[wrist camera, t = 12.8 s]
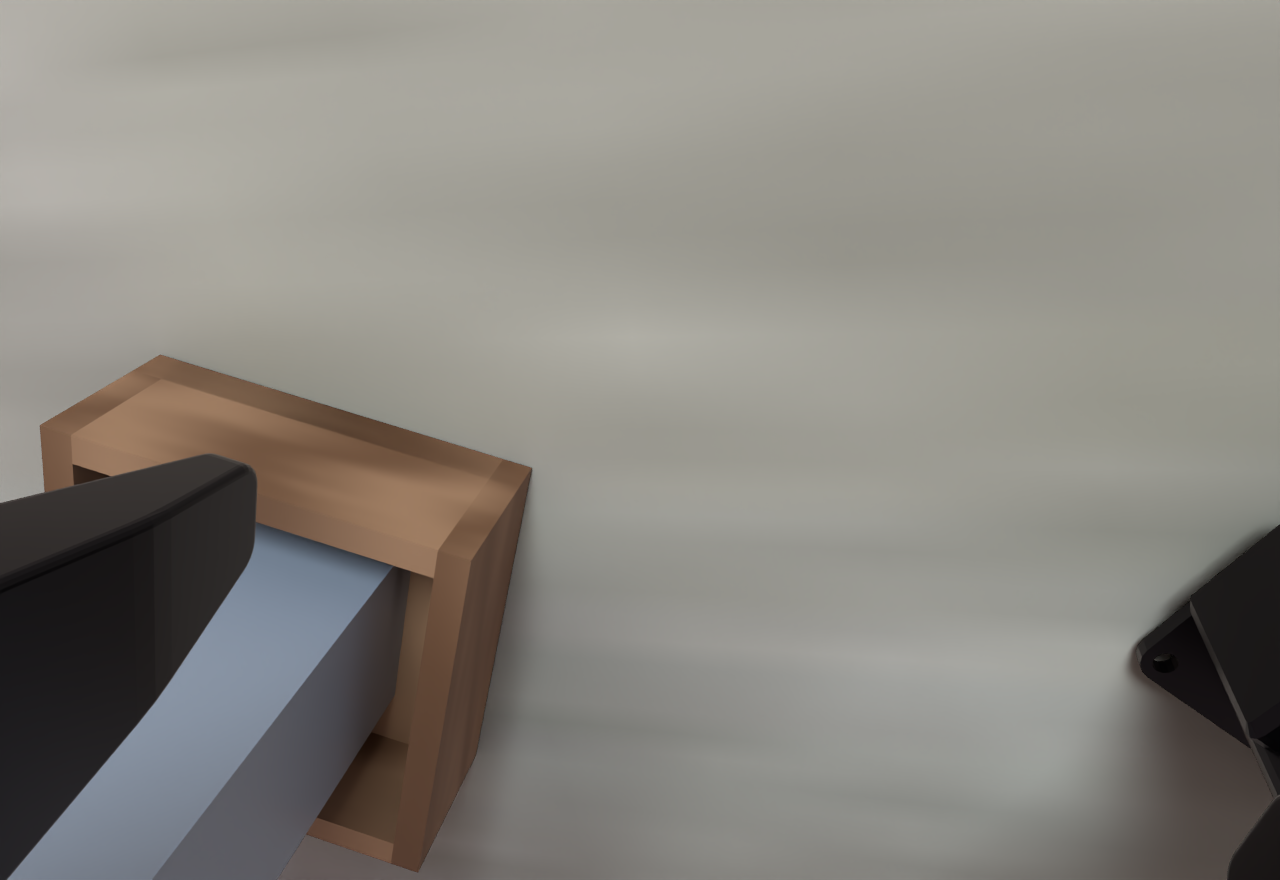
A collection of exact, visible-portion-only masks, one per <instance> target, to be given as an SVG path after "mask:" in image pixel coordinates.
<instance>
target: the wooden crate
mask: <svg viewBox="0 0 1280 880" xmlns="http://www.w3.org/2000/svg"><path fill="white" fill-rule="evenodd" d="M40 434H41V447H42V461H43V475H44V489H45V492H48V491H53V490H57V489H61V488H65V487H69V486H73V485H77V484H82V483H86V482H90V481H94V480H98V479H102V478H106V477H110V476H115V475H119V474H123V473H127V472H131V471H135V470H139V469H144V468H148V467H152V466H156V465H160V464H164V463H168V462H173V461H177V460H181V459H185V458H189V457H193V456H197V455H202V454H207V453H213V454H217V455H221V456H224V457H227V458H230V459H234V460H237V461H240V462H243V463H246V464H249V465H250V466H251V467H252V468H253V469H254V470H255V472H256V476H257V506H256V522H258V523H261V524H264V525H267V526H270V527H273V528H276V529H280V530H283V531H286V532H289V533H292V534H295V535H299V536H302V537H305V538H308V539H311V540H314V541H317V542H321V543H324V544H327V545H330V546H333V547H336V548H340V549H343V550H346V551H349V552H352V553H355V554H359V555H362V556H365V557H368V558H371V559H374V560H377V561H381V562H384V563H387V564H390V565H393V566H396V567H400V568H403V569H406V570H409V571H411V574H410V582H409V589H408V597H407V605H406V612H405V620H404V628H403V635H402V643H401V651H400V659H399V666H398V674H397V682H396V689H395V696H394V697H393V699H392V700H391V702H390V703H389V705H388V706H387V708H386V710H385V711H384V713H383V714H382V716H381V717H380V719H379V721H378V722H377V724H376V725H375V727H374V728H373V730H372V732H371V733H370V735H369V736H368V738H367V739H366V741H365V742H364V744H363V746H362V747H361V749H360V750H359V752H358V753H357V755H356V757H355V758H354V760H353V761H352V763H351V764H350V766H349V768H348V769H347V771H346V772H345V774H344V775H343V777H342V779H341V780H340V782H339V783H338V785H337V786H336V788H335V789H334V791H333V793H332V794H331V796H330V797H329V799H328V800H327V802H326V804H325V805H324V807H323V808H322V810H321V811H320V813H319V815H318V816H317V818H316V819H315V821H314V822H313V824H312V825H311V827H310V829H309V830H308V832H307V833H306V834H307V835H310V836H313V837H315V838H318V839H321V840H324V841H327V842H330V843H333V844H336V845H339V846H342V847H345V848H348V849H350V850H353V851H356V852H359V853H362V854H365V855H368V856H371V857H374V858H377V859H380V860H383V861H385V862H388V863H391V864H394V865H397V866H400V867H403V868H406V869H409V870H412V871H415V872H419V870H420V868H421V865H422V863H423V861H424V859H425V857H426V855H427V853H428V851H429V849H430V847H431V845H432V843H433V841H434V839H435V837H436V835H437V833H438V831H439V829H440V827H441V825H442V823H443V821H444V819H445V817H446V815H447V813H448V811H449V809H450V807H451V805H452V803H453V801H454V799H455V797H456V795H457V793H458V791H459V788H460V786H461V784H462V782H463V780H464V778H465V776H466V774H467V772H468V770H469V768H470V766H471V764H472V762H473V760H474V758H475V756H476V752H477V746H478V741H479V736H480V731H481V726H482V721H483V716H484V711H485V705H486V700H487V695H488V690H489V685H490V680H491V675H492V670H493V664H494V659H495V654H496V649H497V644H498V639H499V634H500V629H501V623H502V618H503V613H504V608H505V603H506V598H507V593H508V588H509V582H510V577H511V572H512V567H513V562H514V557H515V552H516V547H517V541H518V536H519V531H520V526H521V521H522V516H523V511H524V506H525V500H526V495H527V490H528V485H529V480H530V475H531V470H532V468H530V467H527V466H524V465H520V464H517V463H514V462H511V461H507V460H504V459H501V458H497V457H494V456H491V455H488V454H484V453H481V452H478V451H474V450H471V449H468V448H465V447H461V446H458V445H455V444H451V443H448V442H445V441H442V440H438V439H435V438H432V437H429V436H425V435H422V434H419V433H415V432H412V431H409V430H406V429H402V428H399V427H396V426H392V425H389V424H386V423H383V422H379V421H376V420H373V419H369V418H366V417H363V416H360V415H356V414H353V413H350V412H346V411H343V410H340V409H337V408H333V407H330V406H327V405H323V404H320V403H317V402H314V401H310V400H307V399H304V398H300V397H297V396H294V395H291V394H287V393H284V392H281V391H278V390H274V389H271V388H268V387H264V386H261V385H258V384H255V383H251V382H248V381H245V380H241V379H238V378H235V377H232V376H228V375H225V374H222V373H218V372H215V371H212V370H209V369H205V368H202V367H199V366H195V365H192V364H189V363H186V362H182V361H179V360H176V359H172V358H169V357H166V356H163V355H159V356H157V357H155V358H154V359H152V360H150V361H149V362H147V363H145V364H144V365H142V366H140V367H138V368H137V369H135V370H133V371H132V372H130V373H128V374H126V375H125V376H123V377H121V378H120V379H118V380H116V381H115V382H113V383H111V384H109V385H108V386H106V387H104V388H103V389H101V390H99V391H97V392H96V393H94V394H92V395H91V396H89V397H87V398H86V399H84V400H82V401H80V402H79V403H77V404H75V405H74V406H72V407H70V408H69V409H67V410H65V411H63V412H62V413H60V414H58V415H57V416H55V417H53V418H51V419H50V420H48V421H46V422H45V423H43V424H41V425H40Z"/></svg>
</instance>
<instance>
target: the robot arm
mask: <svg viewBox="0 0 1280 880" xmlns="http://www.w3.org/2000/svg"><path fill="white" fill-rule="evenodd" d="M256 506H257V476H256V472H255V470H254V469H253V468H252V467H251V466H250V465H249V464H246V463H243V462H240V461H237V460H234V459H230V458H227V457H224V456H221V455H217V454H213V453H207V454H202V455H197V456H193V457H189V458H185V459H181V460H177V461H173V462H168V463H164V464H160V465H156V466H152V467H148V468H144V469H139V470H135V471H131V472H127V473H123V474H119V475H115V476H110V477H106V478H102V479H98V480H94V481H90V482H86V483H82V484H77V485H73V486H69V487H65V488H61V489H57V490H53V491H48V492H44V493H40V494H36V495H32V496H28V497H24V498H19V499H15V500H11V501H7V502H3V503H0V880H7V879H8V878H9V877H10V876H11V875H12V873H13V872H14V871H15V870H16V869H17V867H18V866H19V865H20V864H21V863H22V861H23V860H24V859H25V858H26V857H27V855H28V854H29V853H30V852H31V851H32V850H33V848H34V847H35V846H36V845H37V844H38V842H39V841H40V840H41V839H42V838H43V836H44V835H45V834H46V833H47V832H48V830H49V829H50V828H51V827H52V826H53V825H54V823H55V822H56V821H57V820H58V819H59V817H60V816H61V815H62V814H63V813H64V811H65V810H66V809H67V808H68V807H69V805H70V804H71V803H72V802H73V801H74V800H75V798H76V797H77V796H78V795H79V794H80V792H81V791H82V790H83V789H84V788H85V786H86V785H87V784H88V783H89V782H90V780H91V779H92V778H93V777H94V776H95V775H96V773H97V772H98V771H99V770H100V769H101V767H102V766H103V765H104V764H105V763H106V761H107V760H108V759H109V758H110V757H111V755H112V754H113V753H114V752H115V751H116V749H117V748H118V747H119V746H120V745H121V744H122V742H123V741H124V740H125V739H126V738H127V736H128V735H129V734H130V733H131V732H132V730H133V729H134V728H135V727H136V726H137V724H138V723H139V722H140V721H141V720H142V718H143V717H144V716H145V714H146V713H147V712H148V711H149V709H150V708H151V707H152V706H153V704H154V703H155V702H156V701H157V699H158V698H159V696H160V695H161V694H162V692H163V691H164V689H165V688H166V687H167V685H168V684H169V682H170V681H171V679H172V678H173V676H174V675H175V673H176V672H177V670H178V669H179V667H180V666H181V664H182V663H183V661H184V660H185V658H186V657H187V655H188V654H189V652H190V651H191V649H192V648H193V646H194V645H195V643H196V642H197V640H198V639H199V637H200V636H201V634H202V633H203V631H204V630H205V628H206V627H207V625H208V624H209V622H210V621H211V619H212V618H213V616H214V615H215V613H216V612H217V610H218V609H219V607H220V606H221V604H222V603H223V601H224V600H225V598H226V597H227V595H228V594H229V592H230V591H231V589H232V588H233V586H234V585H235V583H236V582H237V580H238V579H239V577H240V576H241V574H242V573H243V571H244V570H245V568H246V566H247V565H248V562H249V560H250V558H251V555H252V552H253V548H254V544H255V529H256ZM1161 654H1171V655H1173V656H1172V657H1171V658H1170V659H1168V660H1166V661H1156V660H1154V659H1155V657H1156V656H1159V655H1161ZM1136 655H1137V658H1138V661H1139V664H1140V667H1141V670H1142V672H1143V673H1144V674H1145V675H1146V676H1147V677H1148V678H1149V679H1151V680H1152V681H1154V682H1155V683H1157V684H1158V685H1159V686H1161V687H1162V688H1164V689H1165V690H1167V691H1168V692H1170V693H1171V694H1172V695H1174V696H1175V697H1177V698H1178V699H1180V700H1181V701H1183V702H1184V703H1186V704H1187V705H1188V706H1190V707H1191V708H1193V709H1194V710H1196V711H1197V712H1199V713H1200V714H1201V715H1203V716H1204V717H1206V718H1207V719H1209V720H1210V721H1212V722H1213V723H1214V724H1216V725H1217V726H1219V727H1220V728H1222V729H1223V730H1225V731H1226V732H1227V733H1229V734H1230V735H1232V736H1233V737H1235V738H1236V739H1238V740H1239V741H1240V742H1242V743H1243V744H1245V745H1246V746H1248V747H1249V748H1251V749H1252V751H1253V754H1254V756H1255V758H1256V760H1257V763H1258V765H1259V767H1260V769H1261V771H1262V774H1263V776H1264V778H1265V780H1266V783H1267V785H1268V787H1269V789H1270V791H1271V794H1272V796H1273V798H1274V800H1273V801H1272V802H1271V804H1270V805H1269V806H1268V808H1267V809H1266V810H1265V812H1264V813H1263V814H1262V816H1261V817H1260V819H1259V820H1258V821H1257V823H1256V824H1255V825H1254V827H1253V828H1252V829H1251V831H1250V832H1249V833H1248V835H1247V836H1246V837H1245V839H1244V840H1243V842H1242V843H1241V844H1240V846H1239V847H1238V848H1237V850H1236V851H1235V853H1234V855H1233V856H1232V859H1231V861H1230V864H1229V868H1228V874H1227V880H1280V525H1278V526H1277V527H1276V528H1275V529H1274V530H1272V531H1271V532H1270V533H1269V534H1267V535H1266V536H1265V537H1264V538H1262V539H1261V540H1260V541H1259V542H1257V543H1256V544H1255V545H1254V546H1253V547H1251V548H1250V549H1249V550H1248V551H1246V552H1245V553H1244V554H1243V555H1241V556H1240V557H1239V558H1238V559H1236V560H1235V561H1234V562H1233V563H1232V564H1230V565H1229V566H1228V567H1227V568H1225V569H1224V570H1223V571H1222V572H1220V573H1219V574H1218V575H1217V576H1215V577H1214V578H1213V579H1212V580H1211V581H1209V582H1208V583H1207V584H1206V585H1204V586H1203V587H1202V588H1201V589H1199V590H1198V591H1197V592H1196V593H1194V594H1193V595H1192V596H1191V598H1190V602H1189V603H1187V604H1186V605H1185V606H1184V607H1182V608H1181V609H1180V610H1179V611H1177V612H1176V613H1175V614H1174V615H1172V616H1171V617H1170V618H1169V619H1167V620H1166V621H1165V622H1164V623H1162V624H1161V625H1160V626H1159V627H1158V628H1156V629H1155V630H1154V631H1153V632H1151V633H1150V634H1149V635H1148V636H1146V637H1145V638H1144V639H1143V640H1142V641H1141V642H1140V643H1139V645H1138V646H1137V650H1136Z"/></svg>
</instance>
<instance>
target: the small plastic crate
mask: <svg viewBox="0 0 1280 880" xmlns="http://www.w3.org/2000/svg"><path fill="white" fill-rule="evenodd" d="M410 574H411V571H409V570H406V569H403V568H400V567H396V566H393V565H390V564H387V563H384V562H381V561H377V560H374V559H371V558H368V557H365V556H362V555H359V554H355V553H352V552H349V551H346V550H343V549H340V548H336V547H333V546H330V545H327V544H324V543H321V542H317V541H314V540H311V539H308V538H305V537H302V536H299V535H295V534H292V533H289V532H286V531H283V530H280V529H276V528H273V527H270V526H267V525H264V524H261V523H258V522H256V529H255V544H254V548H253V552H252V555H251V558H250V560H249V562H248V565H247V566H246V568H245V570H244V571H243V573H242V574H241V576H240V577H239V579H238V580H237V582H236V583H235V585H234V586H233V588H232V589H231V591H230V592H229V594H228V595H227V597H226V598H225V600H224V601H223V603H222V604H221V606H220V607H219V609H218V610H217V612H216V613H215V615H214V616H213V618H212V619H211V621H210V622H209V624H208V625H207V627H206V628H205V630H204V631H203V633H202V634H201V636H200V637H199V639H198V640H197V642H196V643H195V645H194V646H193V648H192V649H191V651H190V652H189V654H188V655H187V657H186V658H185V660H184V661H183V663H182V664H181V666H180V667H179V669H178V670H177V672H176V673H175V675H174V676H173V678H172V679H171V681H170V682H169V684H168V685H167V687H166V688H165V689H164V691H163V692H162V694H161V695H160V696H159V698H158V699H157V701H156V702H155V703H154V704H153V706H152V707H151V708H150V709H149V711H148V712H147V713H146V714H145V716H144V717H143V718H142V720H141V721H140V722H139V723H138V724H137V726H136V727H135V728H134V729H133V730H132V732H131V733H130V734H129V735H128V736H127V738H126V739H125V740H124V741H123V742H122V744H121V745H120V746H119V747H118V748H117V749H116V751H115V752H114V753H113V754H112V755H111V757H110V758H109V759H108V760H107V761H106V763H105V764H104V765H103V766H102V767H101V769H100V770H99V771H98V772H97V773H96V775H95V776H94V777H93V778H92V779H91V780H90V782H89V783H88V784H87V785H86V786H85V788H84V789H83V790H82V791H81V792H80V794H79V795H78V796H77V797H76V798H75V800H74V801H73V802H72V803H71V804H70V805H69V807H68V808H67V809H66V810H65V811H64V813H63V814H62V815H61V816H60V817H59V819H58V820H57V821H56V822H55V823H54V825H53V826H52V827H51V828H50V829H49V830H48V832H47V833H46V834H45V835H44V836H43V838H42V839H41V840H40V841H39V842H38V844H37V845H36V846H35V847H34V848H33V850H32V851H31V852H30V853H29V854H28V855H27V857H26V858H25V859H24V860H23V861H22V863H21V864H20V865H19V866H18V867H17V869H16V870H15V871H14V872H13V873H12V875H11V876H10V877H9V878H8V879H7V880H277V879H278V877H279V876H280V874H281V872H282V871H283V869H284V868H285V866H286V865H287V863H288V862H289V860H290V858H291V857H292V855H293V854H294V852H295V851H296V849H297V847H298V846H299V844H300V843H301V841H302V840H303V838H304V836H305V835H306V833H307V832H308V830H309V829H310V827H311V825H312V824H313V822H314V821H315V819H316V818H317V816H318V815H319V813H320V811H321V810H322V808H323V807H324V805H325V804H326V802H327V800H328V799H329V797H330V796H331V794H332V793H333V791H334V789H335V788H336V786H337V785H338V783H339V782H340V780H341V779H342V777H343V775H344V774H345V772H346V771H347V769H348V768H349V766H350V764H351V763H352V761H353V760H354V758H355V757H356V755H357V753H358V752H359V750H360V749H361V747H362V746H363V744H364V742H365V741H366V739H367V738H368V736H369V735H370V733H371V732H372V730H373V728H374V727H375V725H376V724H377V722H378V721H379V719H380V717H381V716H382V714H383V713H384V711H385V710H386V708H387V706H388V705H389V703H390V702H391V700H392V699H393V697H394V696H395V689H396V682H397V674H398V666H399V659H400V651H401V643H402V635H403V628H404V620H405V612H406V605H407V597H408V589H409V582H410Z"/></svg>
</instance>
